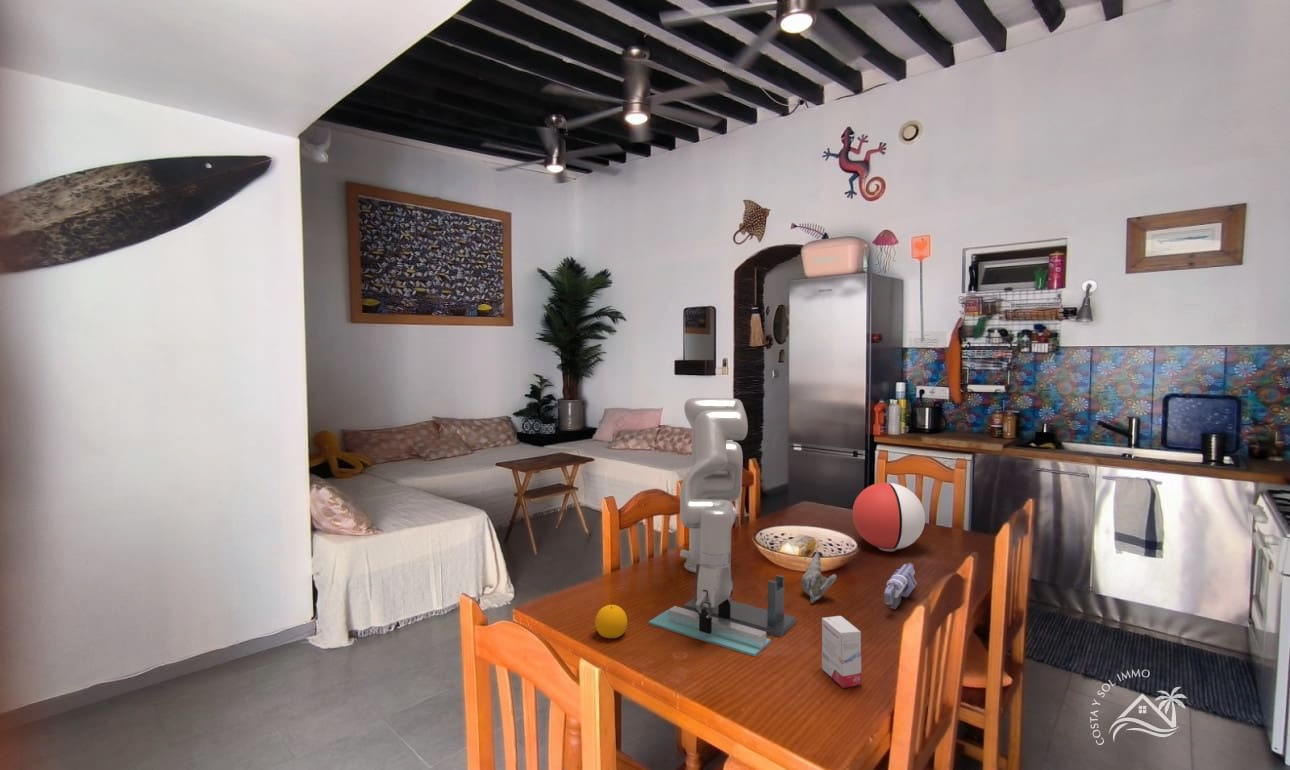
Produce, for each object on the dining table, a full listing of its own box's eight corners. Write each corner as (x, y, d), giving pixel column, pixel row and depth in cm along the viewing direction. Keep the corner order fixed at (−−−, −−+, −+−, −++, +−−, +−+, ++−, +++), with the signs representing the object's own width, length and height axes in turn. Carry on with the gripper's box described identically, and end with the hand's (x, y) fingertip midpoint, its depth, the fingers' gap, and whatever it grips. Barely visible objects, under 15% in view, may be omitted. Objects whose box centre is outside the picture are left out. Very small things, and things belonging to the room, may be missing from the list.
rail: (668, 621, 162) (668, 609, 162) (674, 617, 165) (674, 605, 164) (760, 649, 147) (760, 636, 147) (766, 644, 149) (766, 631, 149)
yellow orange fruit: (622, 626, 160) (622, 597, 160) (631, 639, 153) (631, 610, 153) (592, 630, 158) (591, 601, 158) (599, 644, 151) (599, 614, 150)
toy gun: (923, 588, 186) (923, 561, 186) (901, 622, 163) (901, 591, 163) (897, 583, 190) (898, 557, 190) (872, 615, 167) (873, 585, 167)
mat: (648, 623, 162) (648, 621, 162) (667, 611, 169) (667, 609, 169) (755, 656, 145) (755, 654, 145) (771, 641, 152) (771, 639, 152)
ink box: (862, 686, 132) (863, 631, 131) (840, 689, 131) (841, 634, 130) (840, 665, 141) (841, 614, 140) (820, 668, 139) (820, 616, 139)
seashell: (793, 601, 176) (793, 566, 176) (813, 582, 190) (813, 550, 190) (828, 609, 171) (828, 573, 170) (846, 589, 185) (847, 556, 184)
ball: (907, 539, 234) (935, 560, 210) (843, 538, 234) (864, 559, 211) (909, 476, 232) (937, 490, 209) (844, 476, 233) (865, 490, 209)
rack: (683, 610, 170) (684, 565, 170) (702, 598, 178) (702, 555, 178) (780, 637, 154) (781, 587, 153) (796, 622, 162) (796, 575, 162)
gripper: (718, 545, 164) (718, 609, 165) (684, 564, 150) (684, 633, 151) (744, 550, 159) (744, 616, 160) (711, 570, 145) (711, 642, 146)
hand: (715, 624), depth 156 cm, fingers open, 9 cm apart
